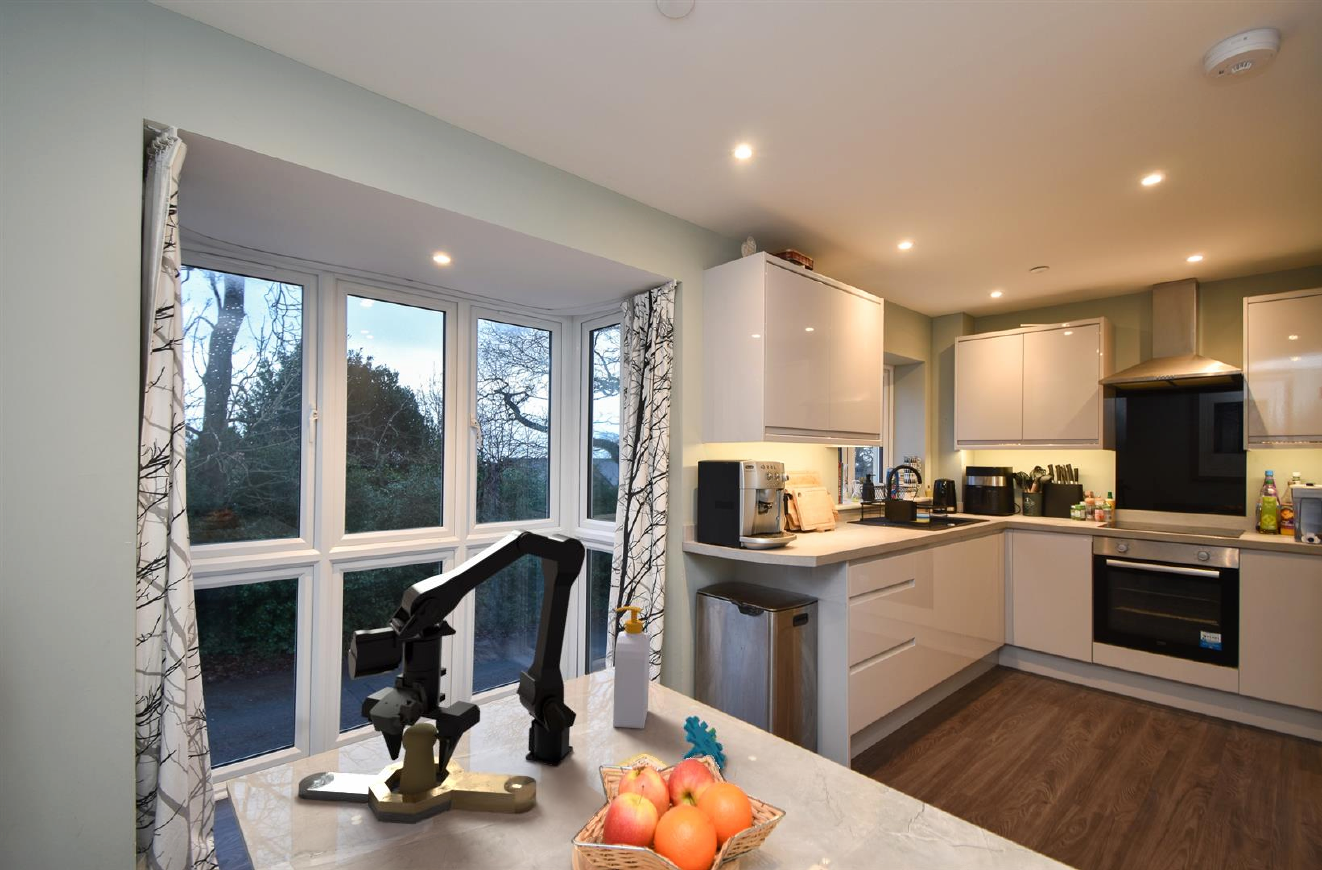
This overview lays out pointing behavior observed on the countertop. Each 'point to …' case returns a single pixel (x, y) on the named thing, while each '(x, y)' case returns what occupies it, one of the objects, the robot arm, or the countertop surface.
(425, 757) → the cork
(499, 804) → the upper chain end
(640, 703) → the soap bottle
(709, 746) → the teal irregular branched piece
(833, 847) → the countertop surface
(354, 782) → the lower chain end
